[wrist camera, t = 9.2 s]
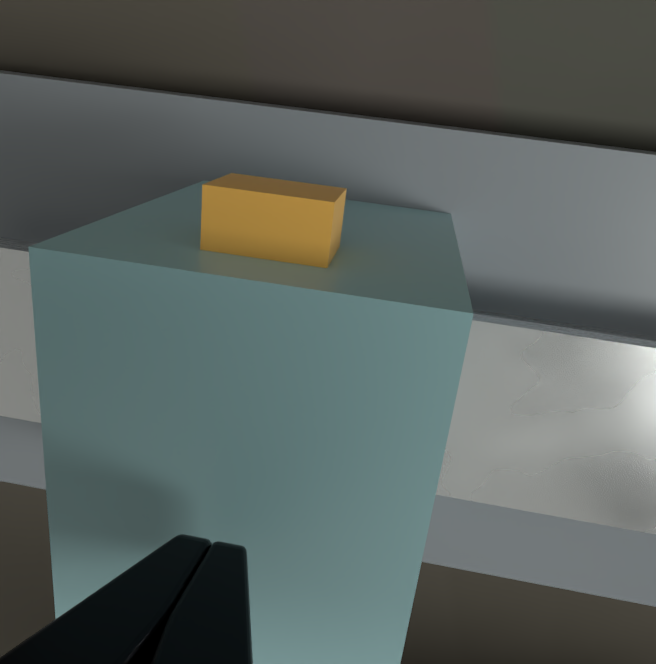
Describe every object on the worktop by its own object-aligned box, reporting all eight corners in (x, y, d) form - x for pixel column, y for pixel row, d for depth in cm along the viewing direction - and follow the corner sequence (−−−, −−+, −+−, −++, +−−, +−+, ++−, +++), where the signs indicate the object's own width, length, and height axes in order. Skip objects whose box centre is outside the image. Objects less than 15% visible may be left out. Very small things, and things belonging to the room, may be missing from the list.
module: (458, 172, 12) (489, 239, 6) (397, 506, 15) (380, 757, 9) (205, 139, 12) (23, 174, 7) (194, 469, 15) (60, 686, 10)
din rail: (906, 359, 12) (975, 397, 10) (824, 520, 13) (876, 574, 12) (-19, 221, 14) (-74, 236, 12) (-4, 376, 15) (-51, 406, 13)
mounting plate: (951, 188, 12) (1020, 200, 11) (760, 585, 16) (793, 632, 14) (-9, 69, 14) (-57, 65, 12) (23, 448, 18) (-11, 478, 16)
